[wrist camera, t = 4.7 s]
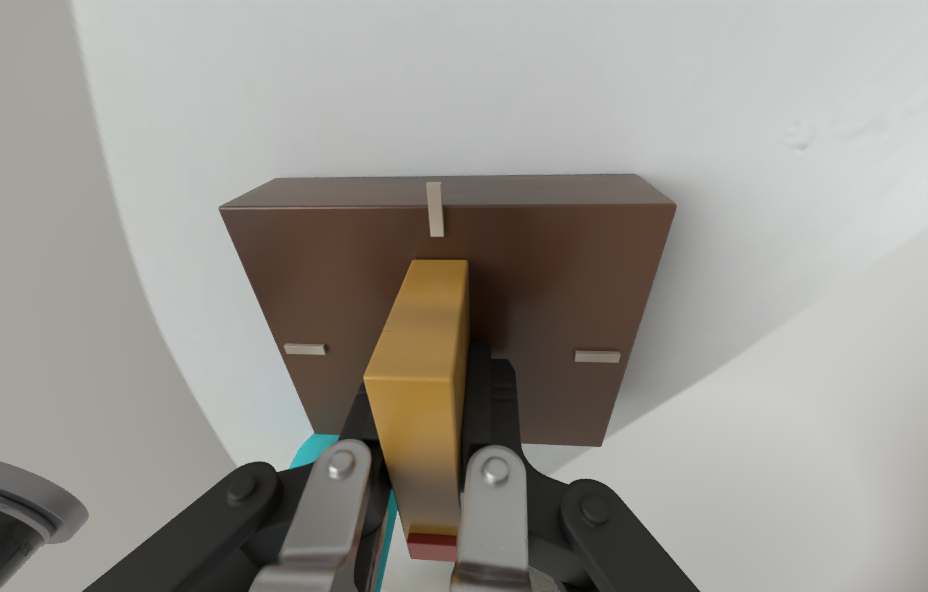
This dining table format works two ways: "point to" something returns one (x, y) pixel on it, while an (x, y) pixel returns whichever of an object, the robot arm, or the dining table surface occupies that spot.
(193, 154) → the dining table surface
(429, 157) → the dining table surface
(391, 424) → the yellow red-tipped block
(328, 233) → the dial base
